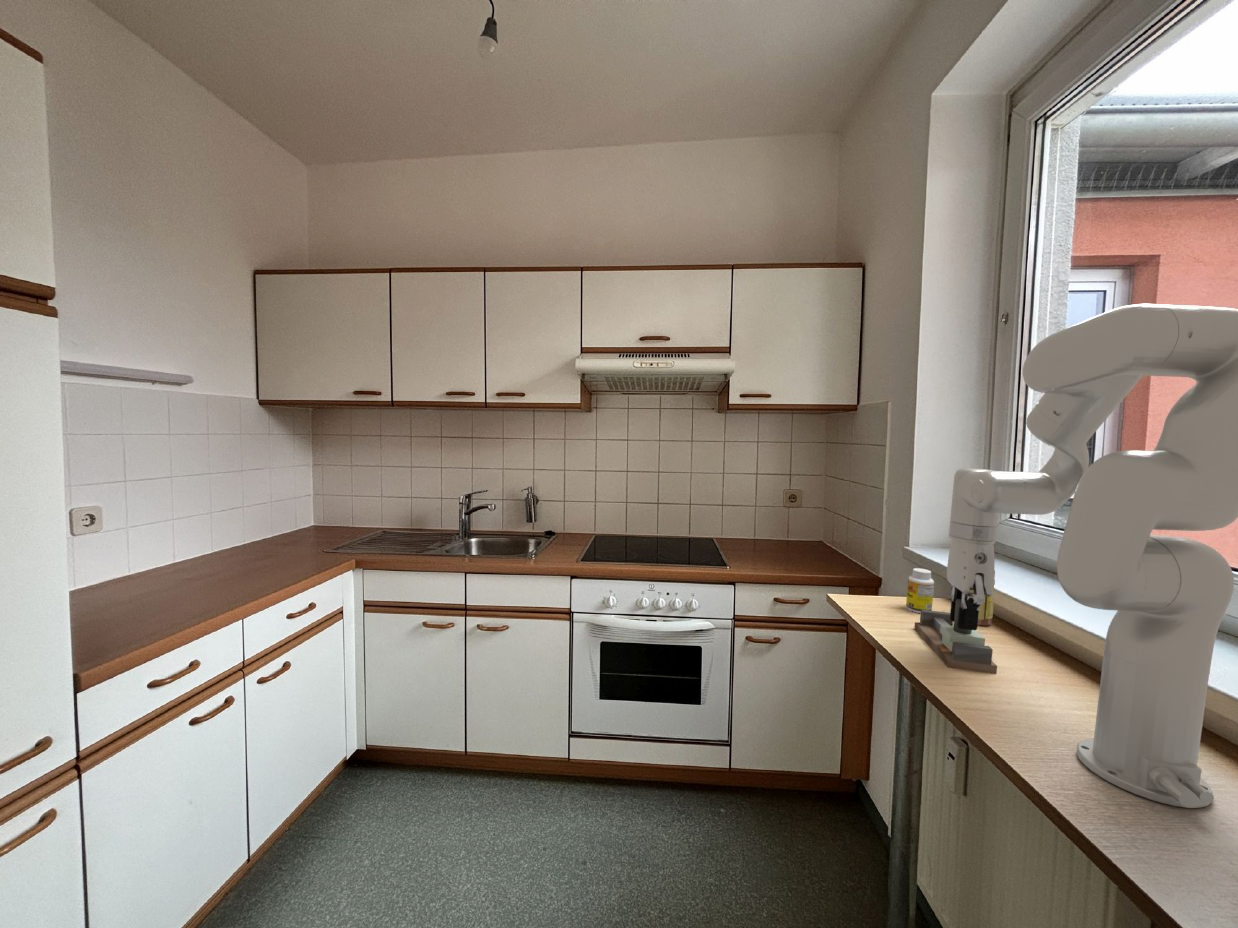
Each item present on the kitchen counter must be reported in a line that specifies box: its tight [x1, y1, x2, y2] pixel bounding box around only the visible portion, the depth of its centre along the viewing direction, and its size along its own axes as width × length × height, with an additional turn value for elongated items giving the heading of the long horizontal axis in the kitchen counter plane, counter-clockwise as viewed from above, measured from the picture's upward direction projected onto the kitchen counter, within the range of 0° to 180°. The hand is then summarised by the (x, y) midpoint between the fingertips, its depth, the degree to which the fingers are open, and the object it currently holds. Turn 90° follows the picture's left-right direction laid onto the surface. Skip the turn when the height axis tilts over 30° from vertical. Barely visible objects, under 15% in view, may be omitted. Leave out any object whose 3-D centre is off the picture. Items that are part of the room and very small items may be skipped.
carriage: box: [940, 599, 986, 652], centre depth 104 cm, size 5×6×10 cm
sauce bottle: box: [969, 569, 996, 627], centre depth 125 cm, size 6×6×20 cm
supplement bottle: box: [905, 567, 935, 614], centre depth 131 cm, size 6×6×10 cm
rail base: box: [914, 610, 998, 674], centre depth 108 cm, size 20×8×4 cm, turn 167°
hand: (962, 624), depth 104 cm, fingers closed on carriage, 3 cm apart
